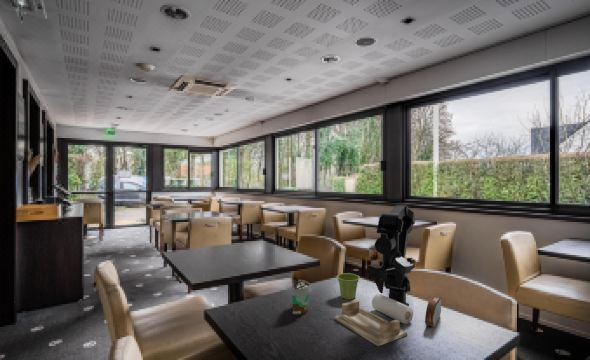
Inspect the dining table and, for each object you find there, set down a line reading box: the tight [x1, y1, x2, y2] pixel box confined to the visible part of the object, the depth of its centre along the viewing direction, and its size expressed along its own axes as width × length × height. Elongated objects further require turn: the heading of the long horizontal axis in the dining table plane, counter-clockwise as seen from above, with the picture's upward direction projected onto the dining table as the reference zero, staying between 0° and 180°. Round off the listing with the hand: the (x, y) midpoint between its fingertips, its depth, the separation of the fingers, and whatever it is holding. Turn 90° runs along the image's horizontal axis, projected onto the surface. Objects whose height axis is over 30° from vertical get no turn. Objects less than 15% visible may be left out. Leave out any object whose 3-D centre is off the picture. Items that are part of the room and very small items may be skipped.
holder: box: [334, 299, 408, 347], centre depth 106 cm, size 13×21×5 cm, turn 31°
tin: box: [424, 294, 443, 328], centre depth 110 cm, size 15×3×8 cm, turn 145°
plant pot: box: [336, 272, 361, 300], centre depth 133 cm, size 9×9×9 cm
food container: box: [291, 279, 312, 317], centre depth 118 cm, size 12×6×10 cm, turn 168°
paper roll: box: [371, 293, 414, 325], centre depth 115 cm, size 14×6×6 cm, turn 31°
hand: (390, 290), depth 114 cm, fingers open, 9 cm apart
